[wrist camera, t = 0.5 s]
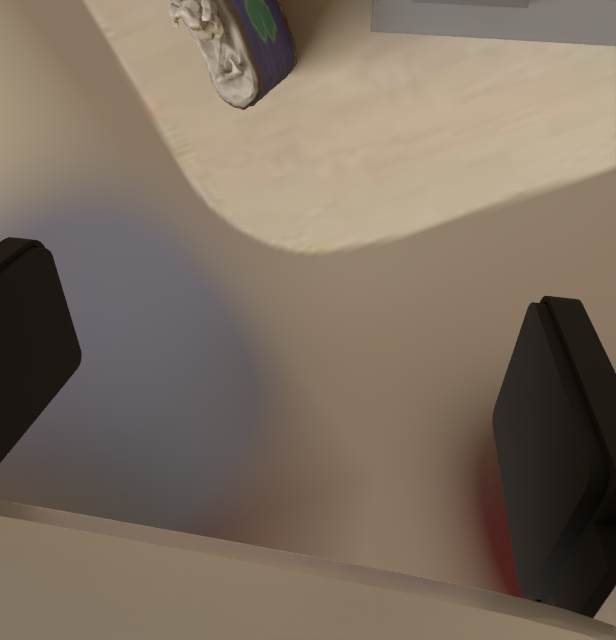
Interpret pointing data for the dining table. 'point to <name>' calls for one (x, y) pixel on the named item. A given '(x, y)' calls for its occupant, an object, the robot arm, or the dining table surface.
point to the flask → (240, 45)
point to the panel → (501, 19)
